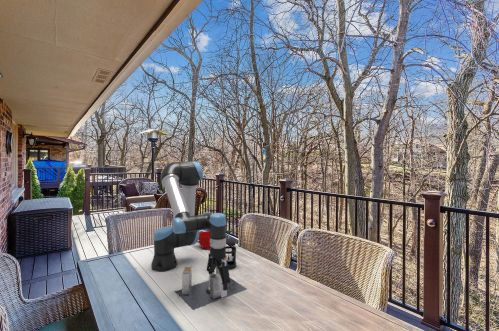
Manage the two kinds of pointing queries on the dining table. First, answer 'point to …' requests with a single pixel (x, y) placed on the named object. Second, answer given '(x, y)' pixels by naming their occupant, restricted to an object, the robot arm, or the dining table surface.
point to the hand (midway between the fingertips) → (217, 291)
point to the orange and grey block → (186, 280)
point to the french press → (231, 252)
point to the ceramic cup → (204, 239)
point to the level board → (207, 294)
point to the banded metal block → (215, 285)
